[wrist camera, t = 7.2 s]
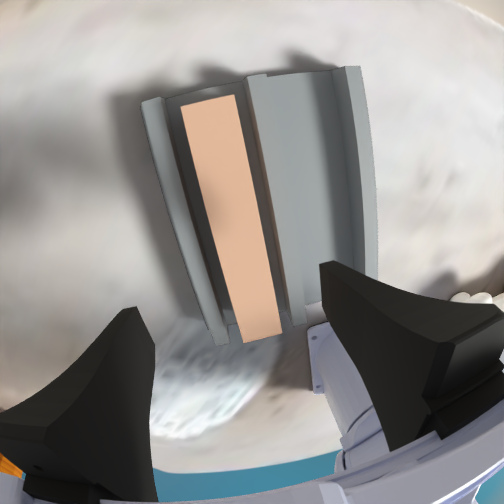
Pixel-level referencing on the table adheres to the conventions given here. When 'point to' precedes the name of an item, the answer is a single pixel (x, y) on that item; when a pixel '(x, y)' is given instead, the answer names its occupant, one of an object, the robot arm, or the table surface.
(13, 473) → the carrot
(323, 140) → the rack
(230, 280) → the clay strip
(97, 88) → the table surface
